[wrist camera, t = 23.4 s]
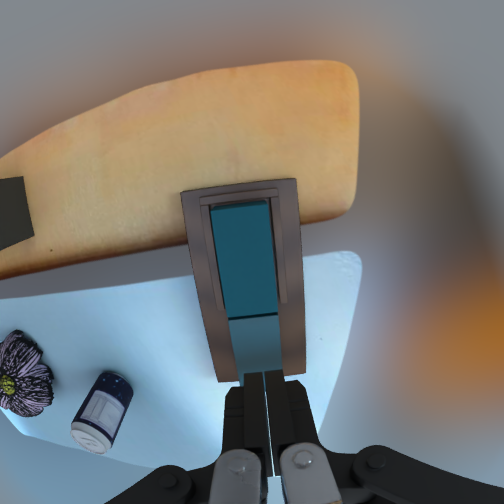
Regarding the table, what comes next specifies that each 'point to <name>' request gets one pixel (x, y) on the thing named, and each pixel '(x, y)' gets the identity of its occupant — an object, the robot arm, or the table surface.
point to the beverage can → (102, 413)
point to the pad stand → (14, 212)
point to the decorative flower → (23, 377)
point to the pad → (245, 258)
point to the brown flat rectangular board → (286, 276)
